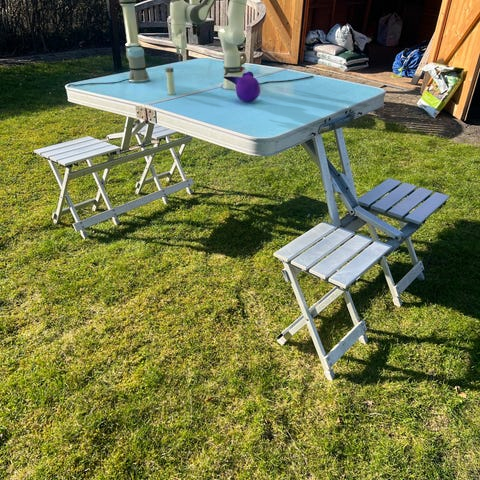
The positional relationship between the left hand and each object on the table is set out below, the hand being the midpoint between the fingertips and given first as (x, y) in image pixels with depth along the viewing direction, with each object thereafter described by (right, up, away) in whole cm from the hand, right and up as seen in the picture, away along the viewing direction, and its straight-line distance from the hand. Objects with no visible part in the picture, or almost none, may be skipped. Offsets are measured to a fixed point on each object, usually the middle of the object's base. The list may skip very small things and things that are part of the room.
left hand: (196, 35), depth 349 cm
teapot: (+30, -19, +22) cm, 42 cm away
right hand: (-3, -46, -75) cm, 88 cm away
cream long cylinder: (-12, -62, -49) cm, 80 cm away
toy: (+36, -72, -68) cm, 105 cm away
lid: (-12, -48, -57) cm, 75 cm away
